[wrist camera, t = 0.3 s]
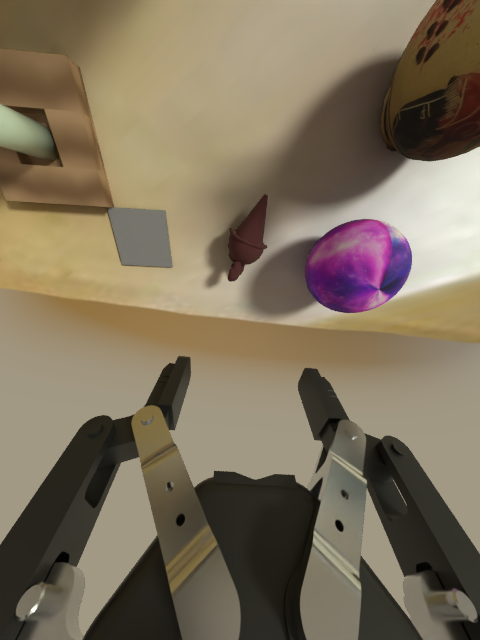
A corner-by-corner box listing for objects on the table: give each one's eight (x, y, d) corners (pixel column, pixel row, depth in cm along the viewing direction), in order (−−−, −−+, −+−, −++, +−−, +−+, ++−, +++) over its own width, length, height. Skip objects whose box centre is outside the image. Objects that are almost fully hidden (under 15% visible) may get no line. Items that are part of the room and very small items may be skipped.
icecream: (239, 179, 25) (209, 274, 33) (286, 202, 25) (245, 292, 33) (249, 187, 31) (222, 266, 39) (287, 206, 31) (252, 281, 39)
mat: (108, 207, 32) (107, 207, 32) (165, 210, 32) (164, 210, 32) (123, 264, 37) (122, 264, 37) (172, 266, 37) (171, 267, 37)
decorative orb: (289, 293, 41) (314, 328, 28) (303, 217, 33) (346, 216, 20) (354, 295, 41) (408, 330, 28) (381, 220, 34) (472, 222, 21)
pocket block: (-47, 55, 24) (-72, 41, 22) (79, 67, 24) (66, 55, 22) (20, 201, 31) (6, 200, 30) (114, 207, 32) (106, 206, 30)
